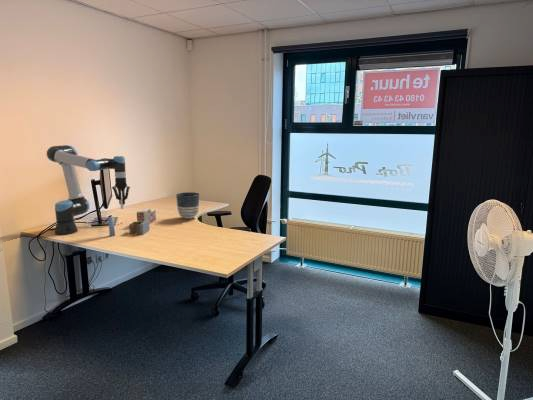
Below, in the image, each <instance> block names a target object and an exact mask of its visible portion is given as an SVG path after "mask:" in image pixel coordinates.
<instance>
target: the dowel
mask: <svg viewBox="0 0 533 400" xmlns="http://www.w3.org/2000/svg"><path fill="white" fill-rule="evenodd" d="M107 218H108V230H109V231H108V232H109V237H114V236H116V231H115V218H114V216H108V217H107Z"/></svg>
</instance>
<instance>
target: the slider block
mask: <svg viewBox="0 0 533 400" xmlns="http://www.w3.org/2000/svg"><path fill="white" fill-rule="evenodd" d="M141 223H143V222H137V221H133V222H131V223H129V225H128V228H129V229H128V230H129V234H130V235H141V231H140V224H141Z"/></svg>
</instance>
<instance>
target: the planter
mask: <svg viewBox="0 0 533 400" xmlns="http://www.w3.org/2000/svg"><path fill="white" fill-rule="evenodd" d="M175 198H176V206H177V212H178V215H179V216H180V217H181V218H182V219H187V220H190V219H194V218H195V217H196V216H197V215H198V213H199V211H200V209H199V208H200V193H198V192H194V191H190V192H185V191H184V192H180V193H179V192H178V193H176V195H175Z"/></svg>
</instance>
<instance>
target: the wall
mask: <svg viewBox="0 0 533 400" xmlns="http://www.w3.org/2000/svg"><path fill="white" fill-rule="evenodd" d="M140 231H141V234H140V235H143V236H144V235H145V234H147V233H148V232H149V231H150V224H149V220H146V221H144V222H143V223H141V224H140Z"/></svg>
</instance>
